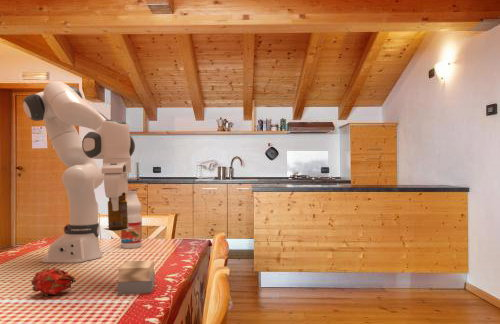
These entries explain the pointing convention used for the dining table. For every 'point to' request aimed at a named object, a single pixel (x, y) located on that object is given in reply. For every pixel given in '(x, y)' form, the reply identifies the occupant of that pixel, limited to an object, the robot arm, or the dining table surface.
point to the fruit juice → (132, 222)
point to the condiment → (118, 215)
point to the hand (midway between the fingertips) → (118, 209)
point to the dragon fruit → (52, 281)
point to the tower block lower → (136, 286)
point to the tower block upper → (136, 271)
